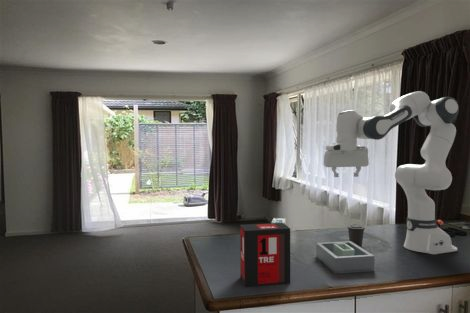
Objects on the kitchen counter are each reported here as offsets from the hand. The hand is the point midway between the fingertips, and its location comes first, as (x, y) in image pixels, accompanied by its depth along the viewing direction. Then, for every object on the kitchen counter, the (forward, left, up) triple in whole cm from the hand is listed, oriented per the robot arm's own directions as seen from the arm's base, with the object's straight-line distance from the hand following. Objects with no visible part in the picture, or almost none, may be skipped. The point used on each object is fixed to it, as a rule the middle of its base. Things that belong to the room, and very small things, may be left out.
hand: (346, 176), depth 163 cm
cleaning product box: (+44, +27, -34) cm, 62 cm away
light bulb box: (+26, -20, -34) cm, 48 cm away
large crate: (+8, +15, -34) cm, 38 cm away
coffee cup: (-8, -6, -34) cm, 36 cm away
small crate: (+8, +15, -33) cm, 37 cm away
